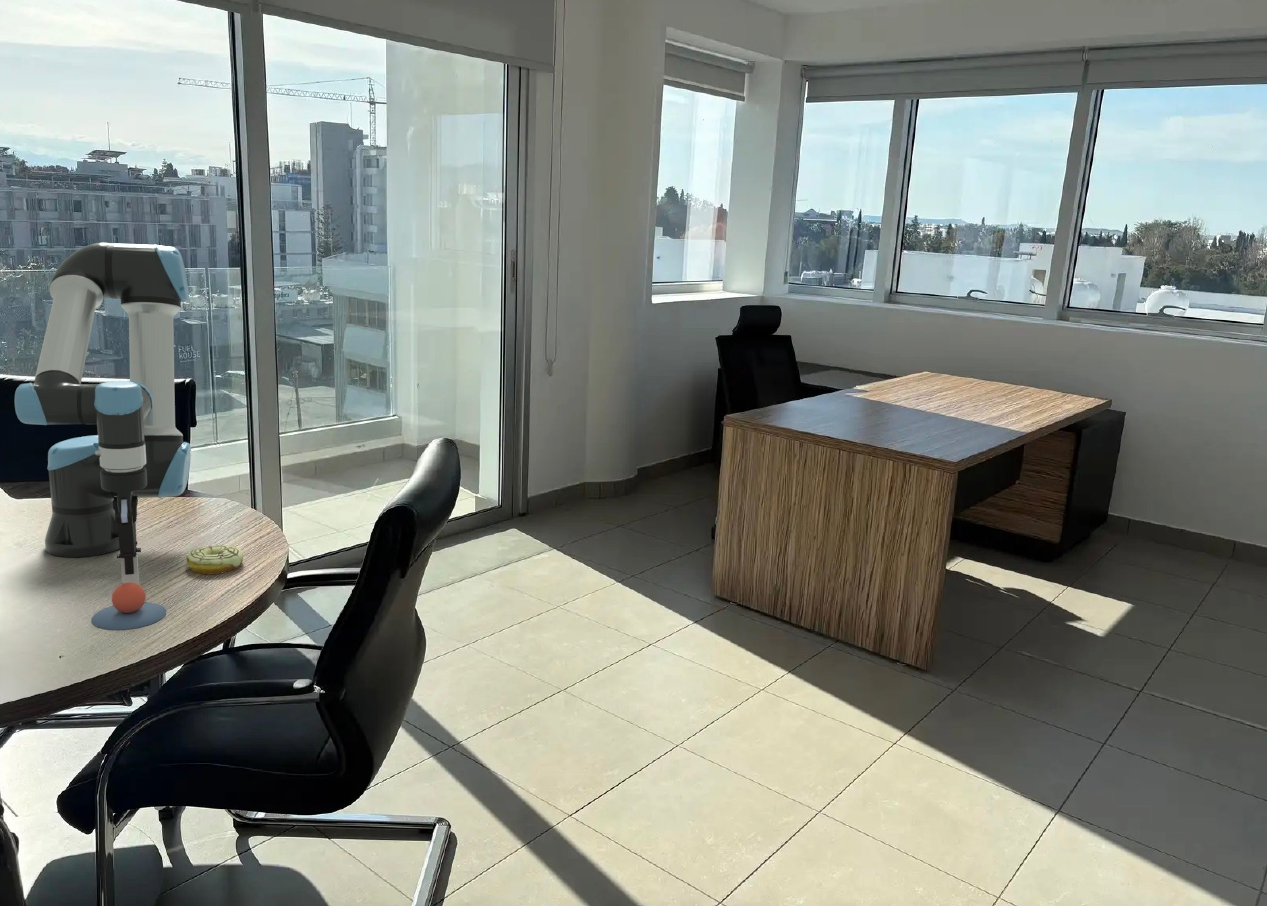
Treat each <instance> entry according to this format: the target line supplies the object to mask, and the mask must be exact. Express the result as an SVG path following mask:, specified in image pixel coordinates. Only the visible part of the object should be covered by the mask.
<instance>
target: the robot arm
mask: <svg viewBox="0 0 1267 906" xmlns="http://www.w3.org/2000/svg"><path fill="white" fill-rule="evenodd" d="M49 294H50V297H51V298H52V304H51V308H50V311H49V312H50V313H49V317H48V321H47V325H46V329H45V333H44V336H43V337H44V338H43V342H42V345H41V346H42V347H41V351H40V355H39V360H38V364H37V369H36V372H35V377H34V382H28V383H21V384H19V385H18V387H17V388H16V390H15V393H14V409H15V415H16V416H17V419H18V420H19V421H20V422H21V423H23V424H25V425H26V424H27V425H39V426H40V425H41V426H42V425H43V426H47V425H48V426H49V425H83V424H84V425H96V427H97V428H96V429H97V434H96V435H95V434H94V435H86V436H81V437H80V436H79V437H73V438H69V439H66V440H63V441H59V442H57V443H55V444H54V445H52V446H51V447H50V448H49V449H48V452H47V462H48V463H47V467H46V469H47V470H48V478H49V479H48V480H49V490H50V501H51V518H50V521H49V525H48V527H47V529H46V530H47V531H46V534H45V539H44V544H45V548H44V549H45V551H46V552H47V553H48V554H50V555H53V556H57V557H63V558H81V557H82V558H84V557H92V556H98V555H99V556H100V555H103V554H104V555H105V554H108V553H111V552H114V551H117V550H119V553H116V559H120V565H121V566H120V569H121V582H122V583H121V585H122V584H124V583H136V584H138V585H140V576H139V559H138V553H141V552H142V548H141V547H137V546H138V541H137V525H136V522H137V520H138V503H139V500H138V499H142V498H143V499H145V498H146V499H147V498H157V499H163V498H169V497H178V496H180V495H182V494H183V493H184V492H185V490H186V488H187V484H188V479H189V475H190V469H191V460H192V459H191V458H192V454H191V451H192V447H191V444H190V443H189V442H187V441H184V435H183V433H182V432H181V431H180V430H179V429H177V427H176V405H175V404H176V403H175V401H176V400H175V394H176V393H175V391H176V390H175V351H174V349H175V346H174V345H175V343H174V340H175V336H174V335H175V334H174V331H175V330H174V317H175V316H176V315H177V314H178V313H179V312H181V310H182V303H185V302H187V301H188V300H189V285H188V279H187V274H186V268H185V264H184V260H183V257H182V254H181V252H180V250H178V249H177V247H173V246H168V245H167V246H165V245H159V244H156V243H155V244H144V243H143V244H140V243H139V244H138V243H137V244H136V243H114V242H113V243H111V242H96V243H92V244H89V245H86V246H83V247H81V248H80V249H78V250H75V251H74V252H73V253H72V254H70V255H69V256H68V257H66V258H65V259H64V260H63V261H62V262H61V264H60V265H59V266H58V267H57V268H56V271H55V272H54V274H53V276H52V279H51V282H50V286H49ZM104 299H112V300H113V299H114V300H115V299H116V300H117V299H118V300H120V308H122V309H123V311H124V312H125V313H127V314H128V319H129V320H128V328H129V330H128V335H129V336H128V341H129V343H128V344H129V350H128V351H129V380H127V381H124V380H123V381H121V380H115V381H114V380H113V381H106V382H102V383H99V384H98V383H95V384H94V383H91V384H90V383H84V384H83V383H82V380H83V376H84V375H83V374H84V369H85V363H86V359H87V353H88V348H89V343H90V339H91V334H92V328H93V322H94V317H95V313H96V309H98V308H100V306H101V304H102V303H103V301H104Z"/></svg>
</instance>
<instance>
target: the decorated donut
mask: <svg viewBox="0 0 1267 906" xmlns="http://www.w3.org/2000/svg"><path fill="white" fill-rule="evenodd" d="M243 556H244V553H243V551H242V550H241V549H240V548H238V547H236V546H233V545H222V544H218V545H207V546H201V547H197V548H195V549H193V550H192V549H191V551H189V552H188V553H187V554H186V559H185V560H186V561H185V562H186V564H187V566H188V568H190V570H191V571H193V572H194V573H197V574H202V575H208V574H209V575H210V574H211V575H217V574H216V573H219V574H223V573H222V572H224V573H228V572H230V571H232V569H233V570H235V569H238V568H239V567H240V566H241V565H242V562H243V558H244V557H243ZM237 567H238V568H237ZM227 571H228V572H227Z"/></svg>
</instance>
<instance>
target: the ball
mask: <svg viewBox="0 0 1267 906" xmlns="http://www.w3.org/2000/svg"><path fill="white" fill-rule="evenodd" d="M146 597H147V596H146V592H145V589H144V588H143V587H142V586H141V585H140V584H139V585H138V584H136V583H124V584H122V583H121V584H119V585H118V586H117V587H116V588H115V589H114V591H113V592H112V594H111V603H112V606H114V607H115V608H116V609H117V610H118V611H120V612H123V613H133V612H135V611H137V610H139V609H140V608H141V607H142V606H143V605H144V603H145V602H146V600H147V599H146Z"/></svg>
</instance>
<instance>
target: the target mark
mask: <svg viewBox="0 0 1267 906" xmlns="http://www.w3.org/2000/svg"><path fill="white" fill-rule="evenodd" d="M166 615H167V608H165V606H163V605H162V604H160V603H159V604H158V603H155V602H149V601H147V602H146V601H145V603H144V605H143V606H142V607H141V608H140V609H139V610H137V611H135V612H133V613H123V612H120V611H118V610H117V609H116V608H115V607H114V606H113V605H111V606H108V607H105V608H103V609H101V610H98V611H96V612H95V613H94V614H93V615H92V617H91V623H92V625H93V626H95V627H97V628H100V629H103V630H108V631H109V630H110V631H123V630H124V631H126V630H134V629H140V628H144V627H147V626H150V625H152V624H156V623H157V622H159V621H161V620H163V618H164V617H165V616H166Z"/></svg>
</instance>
